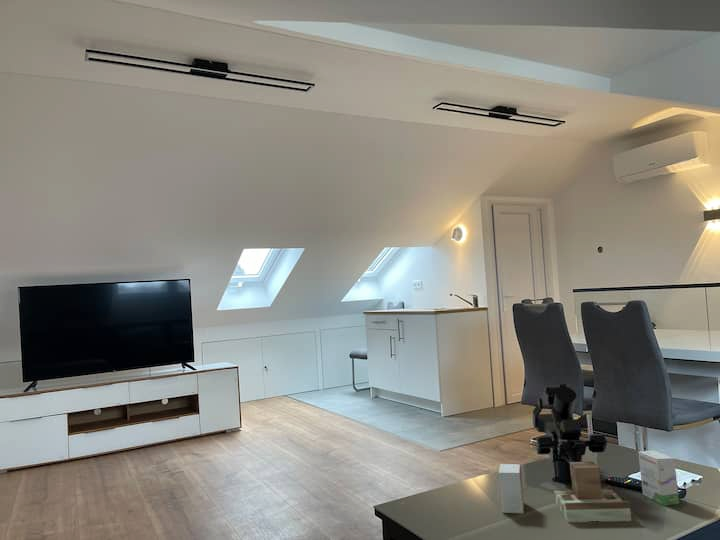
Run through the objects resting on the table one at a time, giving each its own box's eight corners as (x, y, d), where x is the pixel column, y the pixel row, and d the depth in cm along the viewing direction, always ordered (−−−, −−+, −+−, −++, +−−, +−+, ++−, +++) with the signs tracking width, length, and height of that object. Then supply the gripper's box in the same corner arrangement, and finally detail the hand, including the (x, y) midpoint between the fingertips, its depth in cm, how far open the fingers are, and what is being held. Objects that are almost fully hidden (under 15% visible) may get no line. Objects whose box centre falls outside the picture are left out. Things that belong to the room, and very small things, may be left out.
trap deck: (555, 502, 142) (553, 485, 142) (613, 501, 140) (611, 483, 140) (567, 522, 129) (565, 503, 130) (631, 521, 127) (629, 502, 128)
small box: (523, 514, 136) (519, 473, 137) (501, 513, 138) (497, 472, 138) (524, 502, 144) (520, 463, 144) (503, 501, 145) (499, 463, 146)
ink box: (680, 504, 135) (675, 457, 136) (663, 506, 135) (657, 459, 135) (658, 492, 144) (653, 449, 144) (642, 494, 143) (637, 450, 144)
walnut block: (572, 492, 140) (569, 462, 141) (596, 492, 139) (592, 461, 140) (577, 499, 135) (574, 468, 136) (602, 499, 134) (598, 467, 135)
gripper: (534, 408, 152) (546, 458, 140) (601, 405, 149) (619, 455, 138) (531, 429, 159) (542, 478, 147) (595, 426, 157) (612, 476, 145)
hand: (578, 472), depth 144 cm, fingers closed
